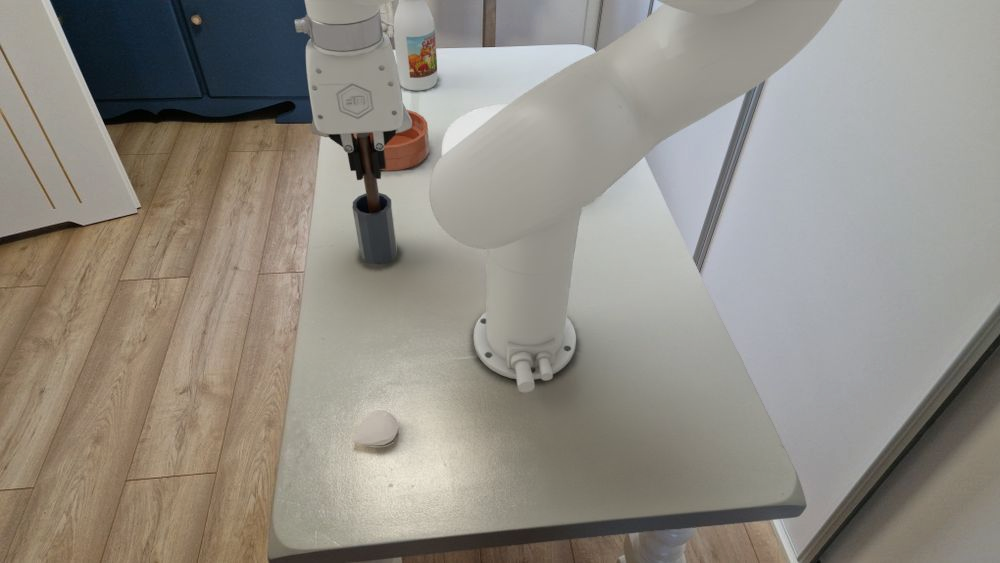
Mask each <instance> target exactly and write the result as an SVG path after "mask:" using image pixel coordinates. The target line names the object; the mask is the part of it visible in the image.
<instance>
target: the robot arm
mask: <svg viewBox="0 0 1000 563" xmlns="http://www.w3.org/2000/svg"><path fill="white" fill-rule="evenodd" d="M393 1H394V0H304V4H305V9H306V10H305V11H306V14H305V16H304V17H301V18H298V19H297V18H296V19H295V18H294V28H295V32H296V33H297V34H298V33H299V34H300V33H303V34H305V35H307V37H310V38H309V39H308V40H307V42H306V45H305V69H306V79H307V86H308V87H307V88H308V94H309V101H310V107H311V113H312V120H311V125H310V133H311V134H313V135H314V136H318V137H322V138H329V139H330V140H331V141H333V142H334V143H336V144H337V145H338V146H340V147H341V148H342V149H343V151H344V152H345V153H347V159H348V164H349V169H350V172H354V171H355V175H356V180H357V181H362V180H364V178H363V170H362V164H361V158H360V152H359V148H358V142H357V139H356V138H355V136H354V133H369V132H373V138H372V141H371V145H372V147H371V156H372V163H373V169H374V176H375V178H376V179H377V180H381V179H382V170H381V169H386V162H385V154H384V147H385V145H386V144H387V143H388V142H389V141H390V140H391V139H392V138H393V137H394V136H395V134H397V133H401V132H403V131H405V130H408V129H410V128H411V127H412V119H411V117H410V115H409V113H408V112H407V110H408V109H407V108H406V106H405V104H404V102H403V92H402V86H401V85H400V79H399V74H398V69H397V62H396V55H395V51H394V48H393V45H392V43H391V40H390V37H389V36H388V34H387V33H386V32H384V31H383V22H382V16H381V9H380V8H381V6H383V5H386V4H388V3H390V2H393ZM656 1H658V2H659V3H661V5H660V6H659V7H657V8H656V9H655V10H654V11H653V12H651V14H650V15H649V16H647V17H646V18H645V19H643V20H642V21H640V22H639V23H637V25H635V26H633V27H632V28H631V29H629V30H628V31H627V32H625V33H624V34H622V35H621V36H620V37H618V38H617V39H615V40H614V41H612V42H611V43H609V44H607V45H606V46H604V47H603V48H600V49H599V50H597V51H596V52H594V53H591V54H588V55H587V56H584V57H583V58H581V59H578V60H576V61H575V62H573V63H571V64H569V65H568V66H566V67H564V68H563V69H561V70H559V71H558V72H556V73H555V74H553V75H551V76H550V77H547V79H544V81H542V82H540V83H539V84H537V85H535V86H534V87H532V88H531V89H529V90H527V91H526V92H524V93H523V94H521V95H520V96H518V97H517V98H516V99H514V100H513V101H511V102H509V103H508V104H509V105H507V106H506V107H505V108H503V109H502V110H501V111H499V112H498V113H497V114H495V115H494V116H493V117H492V118H490V119H489V120H488V121H486V122H485V123H484V124H483V125H481V126H480V127H479V128H477V129H476V130H475V131H474V132H472V133H471V134H470V135H468V136H467V137H466V138H465V139H463V140H462V141H461V142H459V143H458V144H457V145H456V146H454V147H453V148H452V149H450V150H449V151H448V152H446V153H445V154H444V155H443V156H442V157H441V156H440V158H439V159H438V161H437V162H436V164H435V165H434V167H433V169H432V172H431V175H430V179H429V184H428V197H429V204H430V209H431V212H432V213H433V216H434V218H435V220H436V222H437V223H438V225H439V226H440V228H441V229H442V230H443V232H445V233H446V234H447V235H448V236H449V237H451V238H452V239H453V240H455V241H457V242H458V243H460V244H462V245H465V246H468V247H471V248H473V249H478V250H486V289H485V290H486V301H485V304H486V306H485V308H486V309H485V311H484V312H483V313H482V314H481V315H480V316H479V318H478V319H477V321H476V322H475V325H474V329H473V346H474V349H475V352H476V354H477V357H478V358H479V360H480V361H481V362H482V363H483V364H484V365H485V366H486V367H487V368H488V369H490V370H491V371H493V372H494V373H496V374H498V375H500V376H503V377H505V378H509V379H514V380H516V385H517V390H518V391H519V392H520V393H523V394H524V393H530V392H533V391H534V390H535V388H536V383H535V380H542V381H546V382H547V381H550V380H552V379H553V378H554V375H555V374H556V373H558V372H560V371H561V370H562V369H564V368H565V367H567V365H568V363H569V362H570V361H571V360H572V358H573V356H574V354H575V350H576V345H577V332H576V329H575V327H574V324H573V323H572V321H571V320H570V318H569V317H568V316H567V314H568V306H569V300H570V299H569V298H570V290H571V281H572V274H573V268H574V267H573V266H574V258H575V253H576V246H577V238H578V237H577V236H578V231H579V226H580V219H581V215H582V211H583V209H584V208H585V207H586V206H588V205H590V204H591V203H592V202H594V201H595V200H597V199H598V198H599V197H600V196H602V195H603V194H604V193H605V192H606V191H607V190H609V189H610V188H611V187H612V186H613V185H615V184H616V183H617V182H618V181H619V180H620V179H621V178H622V177H623V176H625V175H626V174H627V173H628V172H629V171H630V170H631V169H633V168H634V167H635V166H637V164H639V162H641V161H642V159H644V158H645V157H646V156H647V155H648V154H649V153H650V152H651V151H653V150H654V148H656V147H657V146H658V145H660V144H662V142H664V141H666V140H667V139H668V138H671V137H672V136H674V135H676V134H677V133H679V132H680V131H682V130H684V129H686V128H688V127H690V126H691V125H693V124H695V123H697V122H699V121H700V120H702V119H704V118H706V117H708V116H709V115H711V114H712V113H714V112H716V111H717V110H720V109H721V108H722V107H725V106H726V105H728V104H730V103H731V102H734V101H735V100H737V99H738V98H739V97H740V98H741V96H743V95H745V94H747V93H748V92H750V91H752V90H753V89H754V88H756V87H757V86H759V85H760V84H762V83H763V82H765V81H766V80H768V79H769V78H770V77H772V76H773V75H774V74H775V73H778V71H780V70H781V69H782V68H783V67H785V66H786V65H787V64H789V62H790V61H792V60H793V59H794V58H795V57H797V56H798V54H800V52H802V51H803V50H804V49H805V48H806V47H807V46H808V45H809V44H810V43H811V41H812V40H813V39H814V38H815V37H816V36H817V35H818V34H819V32H820V31H821V30H822V29H823V28H824V27H825V26H826V24H827V23H828V22H829V21H830V19H831V17H832V16H833V15H834V14H835V12H836V11H837V9H838V7H839V6H840V5H841V3H842V1H843V0H656Z"/></svg>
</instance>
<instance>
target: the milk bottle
mask: <svg viewBox="0 0 1000 563" xmlns="http://www.w3.org/2000/svg"><path fill="white" fill-rule="evenodd" d="M393 39H394V49H395V50H394V53H395V60H396V64H397V69H398V74H399V79H400V85H401V88H403V89H406V90H409V91H425V90H428V89H431V88H433V87H434V86H436V84H437V82H438V80H439V79H438V59H437V42H436V40H437V39H436V28H435V21H434V17H433V14H432V12H431V9H430V7H429V6H428V4H427V1H426V0H398V4H397V6H396V9H395V13H394V16H393Z"/></svg>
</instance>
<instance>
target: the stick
mask: <svg viewBox="0 0 1000 563" xmlns="http://www.w3.org/2000/svg"><path fill="white" fill-rule="evenodd" d="M357 142H358V148H359V152H360V158H361V164H362V170H363V184H364V190H365V194H366V196H367V202H368V208H369V213H377V212H379V211H381V205H380V198H379V193H380V192H379V186H378V179H376V178H375V176H374V169H373V163H372V156H371V147H372V145H371V138H370V133H357Z"/></svg>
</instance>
